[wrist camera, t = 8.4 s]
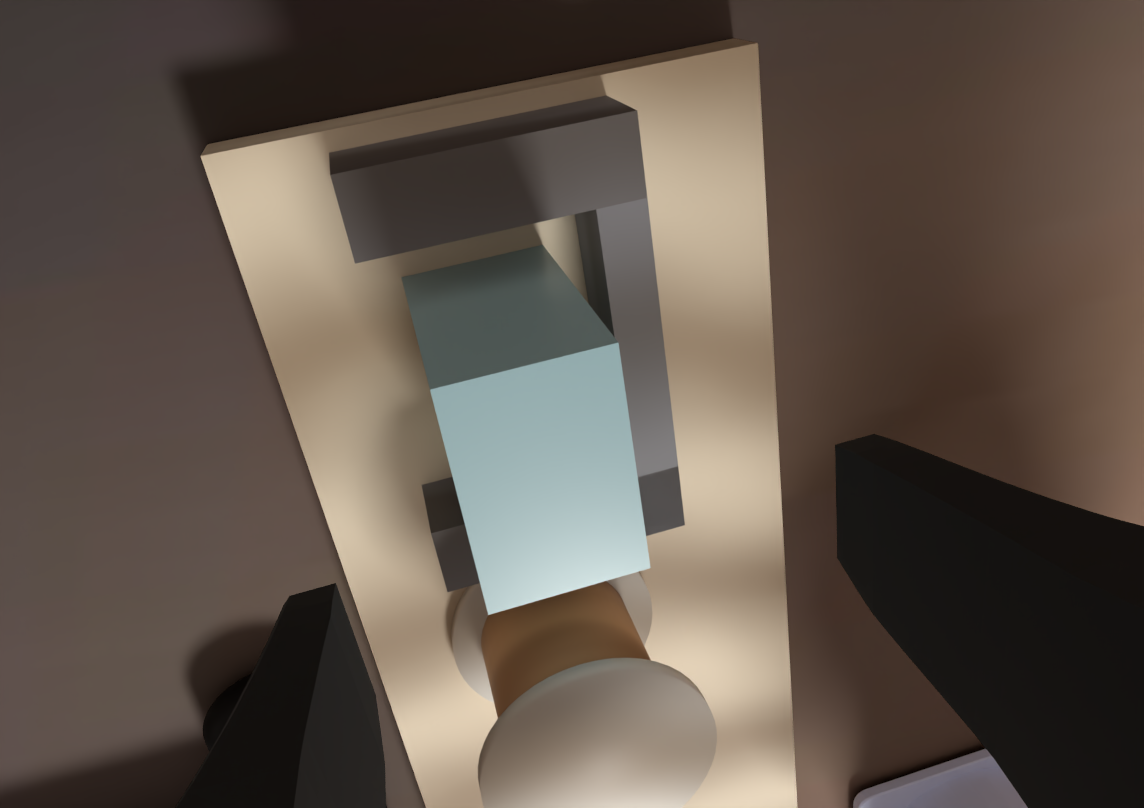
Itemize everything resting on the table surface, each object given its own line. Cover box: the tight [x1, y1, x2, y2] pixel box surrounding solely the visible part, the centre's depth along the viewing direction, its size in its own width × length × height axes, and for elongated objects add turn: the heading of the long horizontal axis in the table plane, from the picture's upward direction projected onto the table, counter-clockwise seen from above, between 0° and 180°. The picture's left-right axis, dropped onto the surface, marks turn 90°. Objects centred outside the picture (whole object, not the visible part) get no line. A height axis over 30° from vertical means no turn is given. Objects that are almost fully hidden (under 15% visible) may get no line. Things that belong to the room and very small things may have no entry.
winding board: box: [201, 38, 797, 808], centre depth 22 cm, size 26×11×6 cm, turn 9°
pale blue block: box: [401, 245, 651, 615], centre depth 17 cm, size 4×3×6 cm, turn 9°
